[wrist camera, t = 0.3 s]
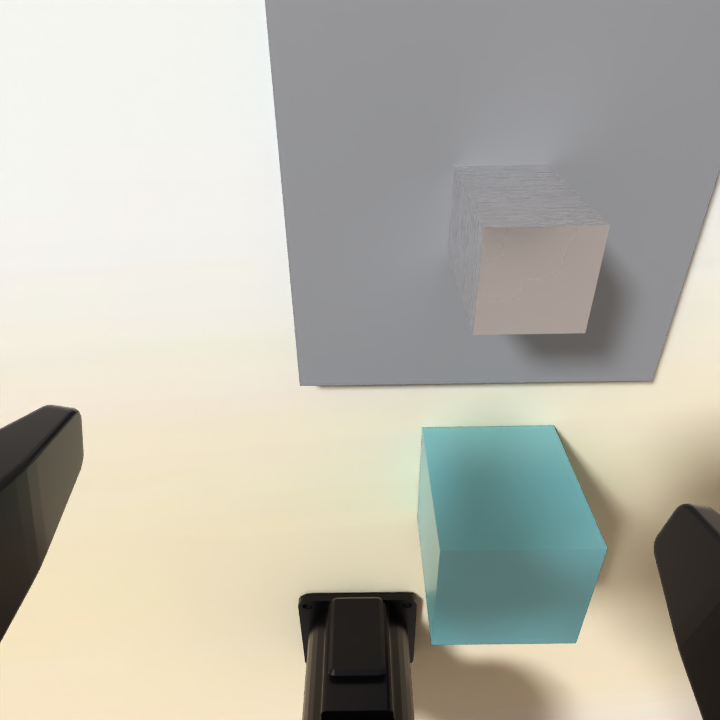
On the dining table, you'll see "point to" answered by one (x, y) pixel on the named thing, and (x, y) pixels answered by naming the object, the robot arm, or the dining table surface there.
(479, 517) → the teal block
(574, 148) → the base board
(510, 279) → the post
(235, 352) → the dining table surface
